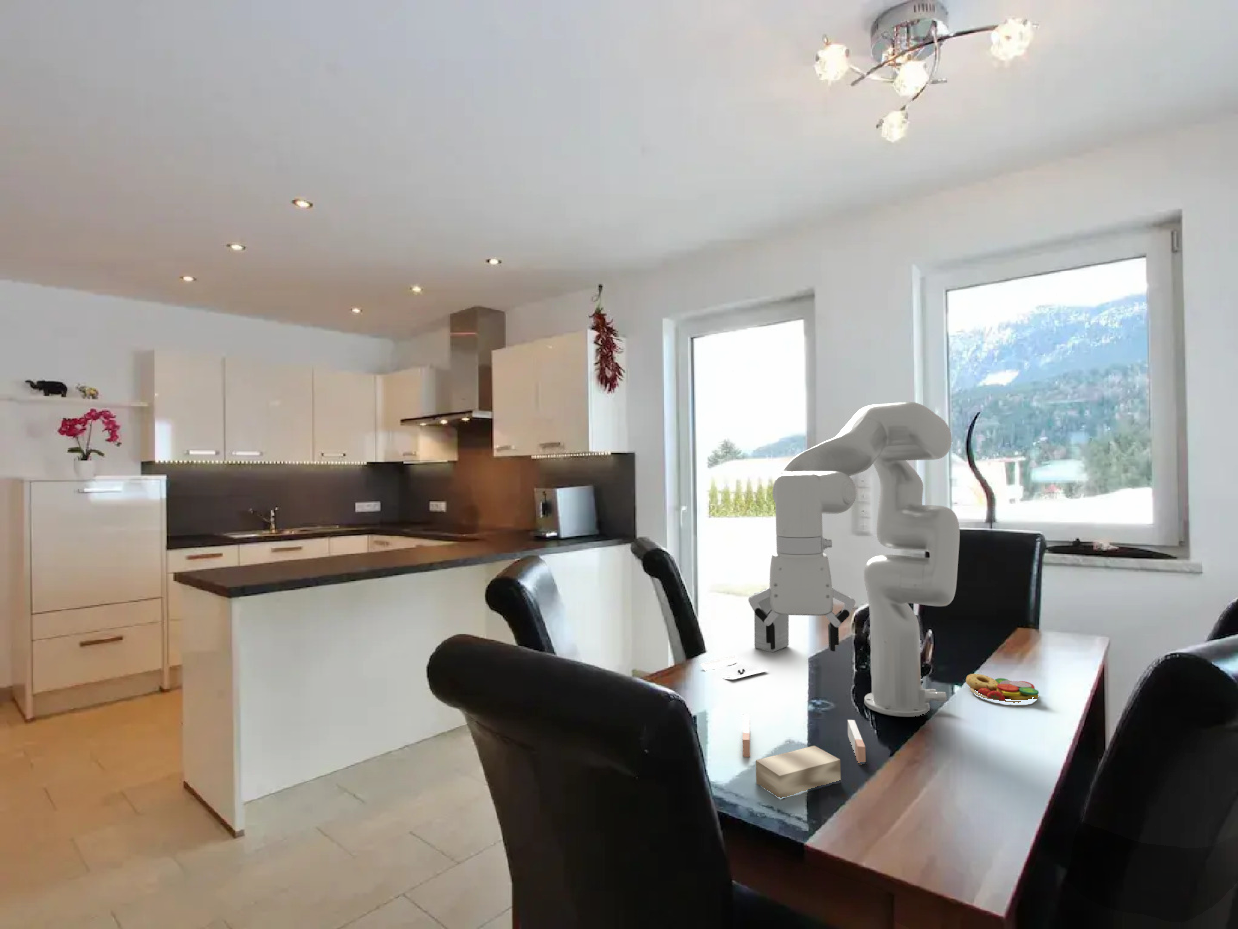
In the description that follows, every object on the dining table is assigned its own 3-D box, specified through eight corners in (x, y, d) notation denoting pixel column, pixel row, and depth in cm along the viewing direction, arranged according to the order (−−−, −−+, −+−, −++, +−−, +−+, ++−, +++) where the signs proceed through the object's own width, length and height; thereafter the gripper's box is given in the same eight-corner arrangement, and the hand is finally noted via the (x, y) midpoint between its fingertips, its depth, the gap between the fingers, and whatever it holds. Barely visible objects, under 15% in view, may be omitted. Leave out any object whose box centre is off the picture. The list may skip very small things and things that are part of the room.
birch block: (815, 769, 110) (814, 745, 110) (840, 784, 105) (840, 759, 105) (756, 785, 105) (755, 760, 105) (780, 802, 100) (779, 775, 100)
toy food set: (961, 686, 150) (961, 671, 150) (1025, 688, 148) (1025, 674, 148) (981, 706, 137) (980, 691, 137) (1051, 710, 134) (1051, 694, 134)
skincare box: (770, 642, 190) (769, 587, 190) (791, 647, 184) (790, 590, 185) (752, 648, 184) (751, 591, 184) (774, 653, 179) (773, 595, 179)
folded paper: (732, 684, 155) (732, 675, 155) (700, 671, 165) (699, 663, 165) (769, 675, 162) (769, 667, 162) (735, 663, 172) (735, 655, 172)
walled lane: (854, 736, 123) (854, 720, 123) (865, 764, 111) (865, 746, 111) (743, 730, 127) (743, 714, 127) (742, 756, 115) (742, 739, 115)
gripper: (850, 543, 112) (852, 644, 112) (747, 544, 116) (749, 641, 116) (857, 549, 105) (859, 656, 105) (746, 549, 108) (749, 653, 108)
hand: (802, 648), depth 110 cm, fingers open, 9 cm apart
